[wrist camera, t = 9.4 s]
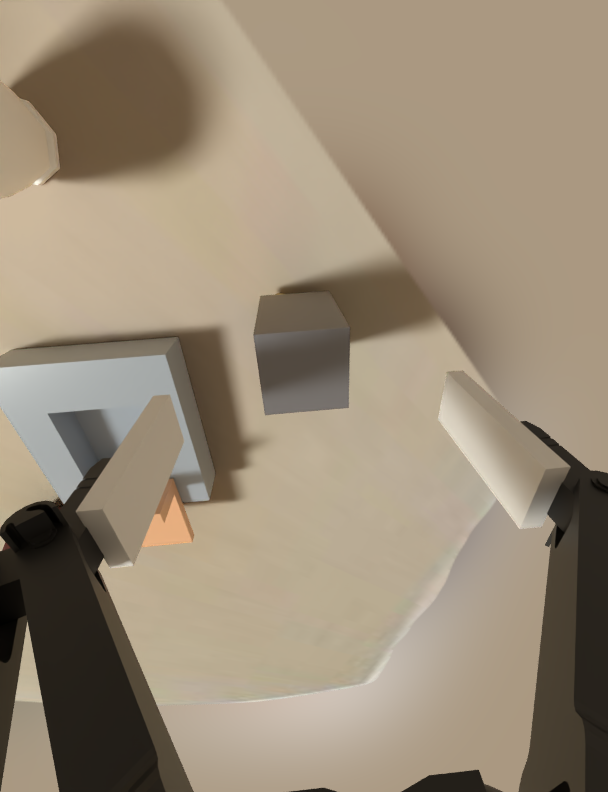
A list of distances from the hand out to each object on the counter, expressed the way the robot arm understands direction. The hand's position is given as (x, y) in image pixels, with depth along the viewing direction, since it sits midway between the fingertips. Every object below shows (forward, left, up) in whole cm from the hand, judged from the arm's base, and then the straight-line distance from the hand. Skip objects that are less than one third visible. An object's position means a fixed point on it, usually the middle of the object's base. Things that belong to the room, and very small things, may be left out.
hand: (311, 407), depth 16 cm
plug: (0, 0, -12) cm, 12 cm away
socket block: (+8, -16, -12) cm, 21 cm away
